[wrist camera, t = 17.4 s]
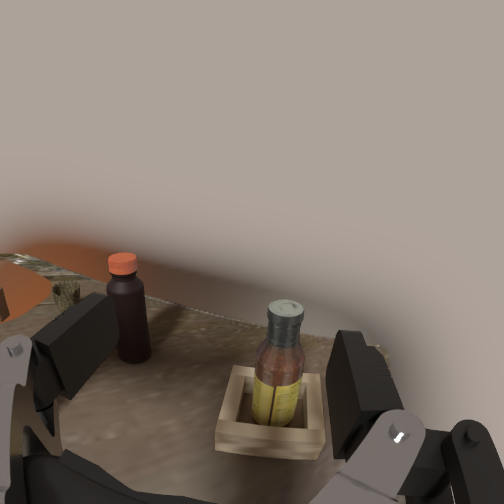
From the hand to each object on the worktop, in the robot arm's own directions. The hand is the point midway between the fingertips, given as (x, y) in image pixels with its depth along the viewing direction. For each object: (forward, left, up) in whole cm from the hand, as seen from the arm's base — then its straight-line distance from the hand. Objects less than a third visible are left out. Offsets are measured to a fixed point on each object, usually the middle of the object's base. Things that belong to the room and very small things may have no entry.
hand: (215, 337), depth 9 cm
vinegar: (-23, +30, -30) cm, 48 cm away
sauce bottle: (+4, +20, -29) cm, 36 cm away
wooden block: (-64, +25, -30) cm, 75 cm away
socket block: (+4, +20, -30) cm, 36 cm away
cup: (-45, +36, -30) cm, 65 cm away
